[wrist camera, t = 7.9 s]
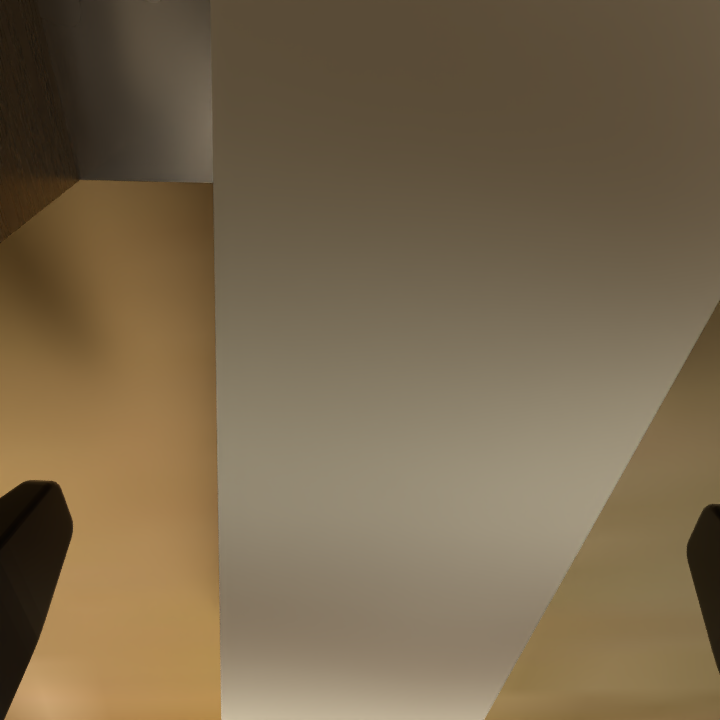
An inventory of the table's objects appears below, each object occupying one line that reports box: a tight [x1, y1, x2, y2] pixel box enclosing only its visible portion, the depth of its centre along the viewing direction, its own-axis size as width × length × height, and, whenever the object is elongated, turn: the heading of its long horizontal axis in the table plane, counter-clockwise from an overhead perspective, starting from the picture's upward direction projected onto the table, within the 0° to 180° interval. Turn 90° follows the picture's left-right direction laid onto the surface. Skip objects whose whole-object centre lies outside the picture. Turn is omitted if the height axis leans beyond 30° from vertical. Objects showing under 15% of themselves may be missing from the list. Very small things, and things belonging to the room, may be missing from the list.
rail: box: [210, 0, 720, 720], centre depth 9 cm, size 16×4×4 cm, turn 173°
